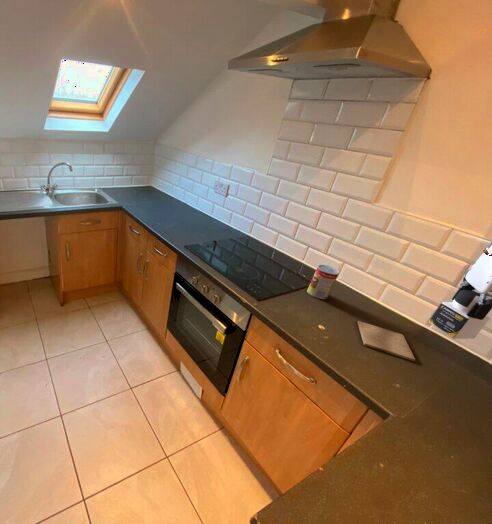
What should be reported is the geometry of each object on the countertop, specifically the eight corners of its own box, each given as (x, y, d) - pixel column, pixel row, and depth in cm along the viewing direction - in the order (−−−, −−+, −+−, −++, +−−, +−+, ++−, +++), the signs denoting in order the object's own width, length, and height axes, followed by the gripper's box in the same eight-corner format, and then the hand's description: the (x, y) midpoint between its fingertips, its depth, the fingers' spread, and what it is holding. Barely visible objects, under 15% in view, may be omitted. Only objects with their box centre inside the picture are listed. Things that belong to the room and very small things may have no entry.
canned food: (323, 290, 130) (334, 266, 125) (330, 300, 124) (342, 275, 118) (304, 287, 131) (315, 263, 126) (310, 297, 124) (321, 272, 119)
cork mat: (401, 336, 107) (402, 334, 106) (414, 361, 95) (415, 359, 95) (357, 322, 112) (358, 320, 111) (364, 344, 100) (365, 343, 100)
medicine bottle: (427, 321, 86) (451, 286, 80) (447, 322, 87) (473, 287, 81) (452, 339, 80) (481, 302, 74) (474, 339, 81) (504, 302, 75)
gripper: (559, 268, 63) (503, 333, 72) (509, 242, 78) (467, 298, 86) (513, 259, 66) (464, 322, 74) (473, 235, 80) (435, 290, 88)
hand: (466, 308), depth 80 cm, fingers closed on medicine bottle, 7 cm apart
